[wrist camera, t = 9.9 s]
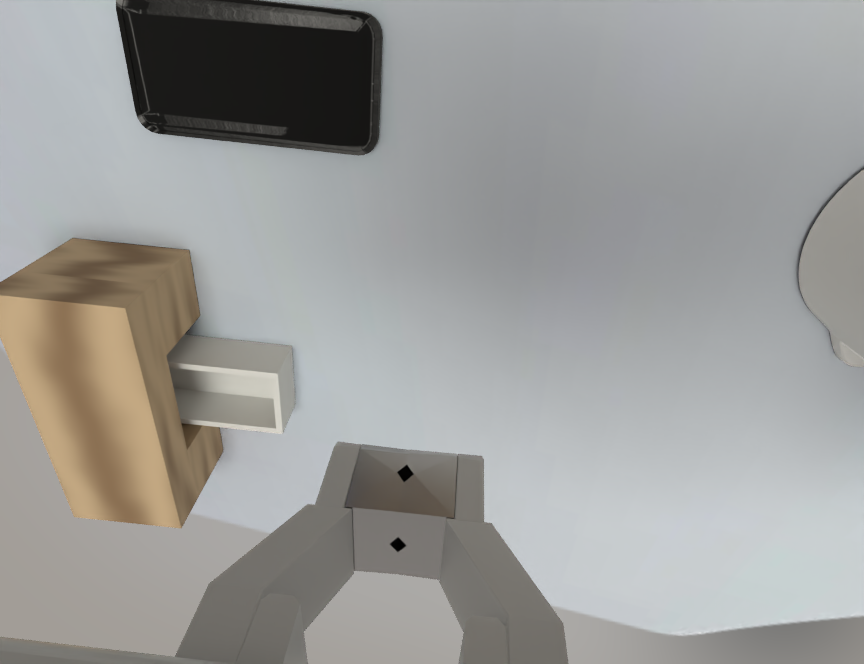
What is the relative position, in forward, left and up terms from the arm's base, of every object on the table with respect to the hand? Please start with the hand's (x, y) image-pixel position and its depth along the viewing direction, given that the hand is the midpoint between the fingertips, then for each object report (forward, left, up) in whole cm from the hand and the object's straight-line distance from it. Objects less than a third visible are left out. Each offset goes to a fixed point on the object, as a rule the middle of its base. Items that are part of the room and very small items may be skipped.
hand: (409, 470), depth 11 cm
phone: (+12, -3, -28) cm, 30 cm away
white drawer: (+18, +19, -27) cm, 38 cm away
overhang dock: (+22, +19, -27) cm, 40 cm away
